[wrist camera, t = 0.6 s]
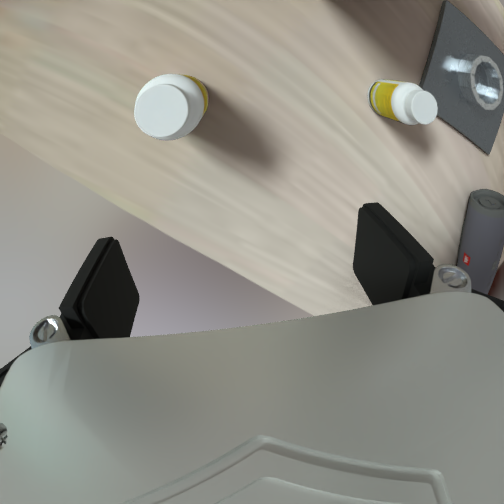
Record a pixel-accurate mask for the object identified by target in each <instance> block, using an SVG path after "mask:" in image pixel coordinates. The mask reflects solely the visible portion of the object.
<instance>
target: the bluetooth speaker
mask: <svg viewBox="0 0 504 504" xmlns="http://www.w3.org/2000/svg"><path fill="white" fill-rule="evenodd" d="M503 246H504V196H503V195H502V194H500V193H498V192H495V191H493V190H488V189H480V190H476V191H473V192H471V195H470V199H469V204H468V209H467V215H466V218H465V220H464V224H463V228H462V233H461V239H460V245H459V252H458V263H457V267H459V268H461V269H462V270H464V271H465V272H466V273H467V274H468V275H469V277H470V279H471V289H474V290H476V291H479V292H482V293H484V294H488V292H489V289H490V287H491V284H492V282H493V279H494V276H495V273H496V271H497V267H498V264H499V261H500V258H501V254H502V250H503Z"/></svg>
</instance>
